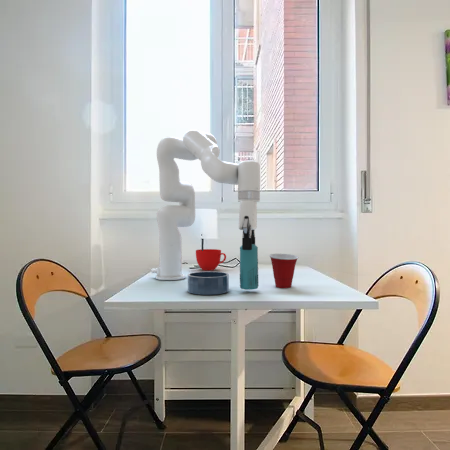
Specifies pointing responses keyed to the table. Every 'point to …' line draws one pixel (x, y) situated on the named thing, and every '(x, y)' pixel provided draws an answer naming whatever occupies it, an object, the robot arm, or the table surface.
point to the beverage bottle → (249, 267)
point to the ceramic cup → (209, 258)
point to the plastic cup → (283, 269)
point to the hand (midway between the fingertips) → (248, 248)
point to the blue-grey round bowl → (208, 283)
